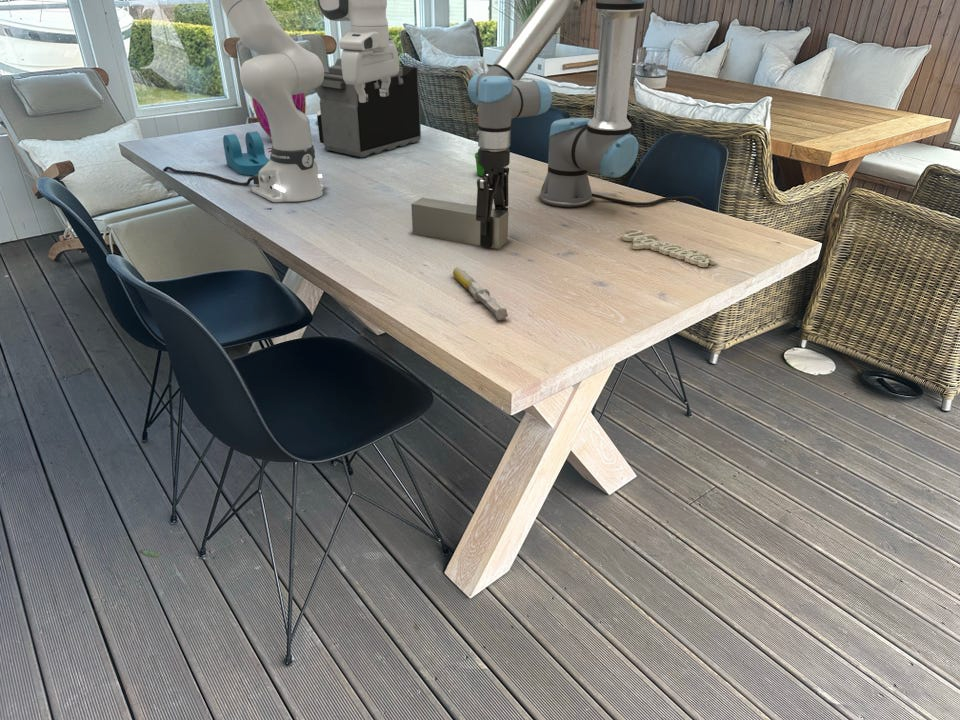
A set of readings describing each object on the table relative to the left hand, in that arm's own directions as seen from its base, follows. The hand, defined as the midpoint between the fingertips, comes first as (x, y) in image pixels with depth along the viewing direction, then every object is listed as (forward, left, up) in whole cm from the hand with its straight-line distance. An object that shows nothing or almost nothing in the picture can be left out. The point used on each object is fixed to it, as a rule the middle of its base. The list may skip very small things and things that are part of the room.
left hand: (374, 99), depth 172 cm
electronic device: (-61, +57, -31) cm, 89 cm away
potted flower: (-4, +53, -31) cm, 62 cm away
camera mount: (-69, +9, -31) cm, 76 cm away
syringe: (+51, -23, -31) cm, 64 cm away
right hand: (+35, +4, -30) cm, 46 cm away
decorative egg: (-93, +42, -31) cm, 107 cm away
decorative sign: (+71, +26, -31) cm, 81 cm away
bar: (+26, +2, -31) cm, 40 cm away
